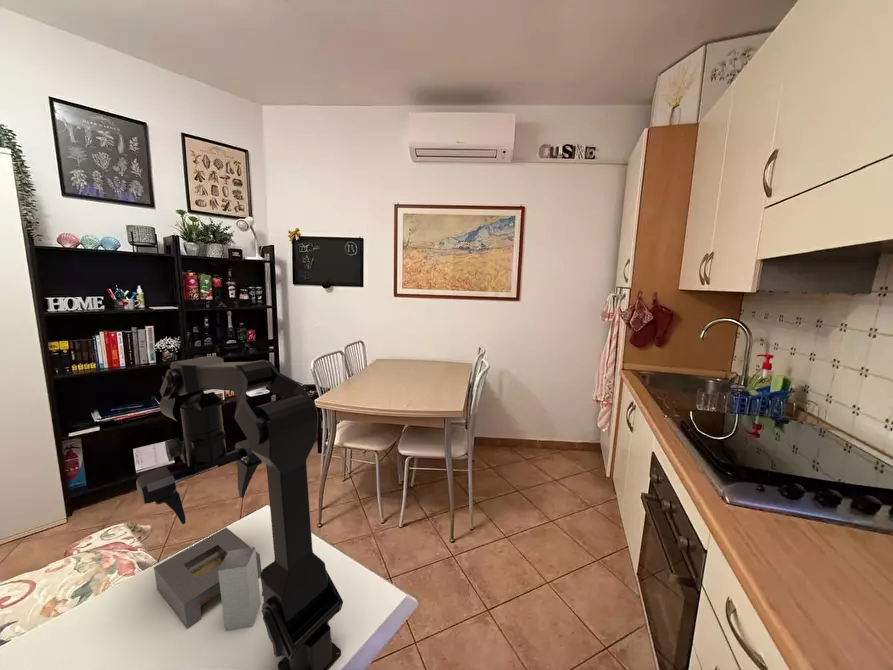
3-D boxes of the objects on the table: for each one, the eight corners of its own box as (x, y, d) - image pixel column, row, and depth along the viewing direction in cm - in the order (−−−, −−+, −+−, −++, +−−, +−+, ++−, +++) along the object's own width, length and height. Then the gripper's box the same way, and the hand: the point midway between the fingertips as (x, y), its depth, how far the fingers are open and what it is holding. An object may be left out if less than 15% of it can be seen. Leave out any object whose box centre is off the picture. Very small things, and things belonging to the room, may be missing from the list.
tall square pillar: (260, 603, 59) (255, 547, 57) (252, 626, 55) (246, 566, 54) (234, 608, 58) (227, 551, 57) (224, 631, 54) (216, 570, 53)
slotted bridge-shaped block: (261, 575, 65) (259, 554, 64) (187, 628, 55) (183, 604, 54) (228, 546, 72) (226, 527, 71) (157, 589, 62) (153, 567, 61)
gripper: (242, 403, 72) (250, 472, 75) (123, 434, 58) (136, 518, 60) (266, 416, 65) (273, 491, 68) (137, 454, 51) (152, 548, 53)
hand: (214, 509), depth 62 cm, fingers open, 9 cm apart
